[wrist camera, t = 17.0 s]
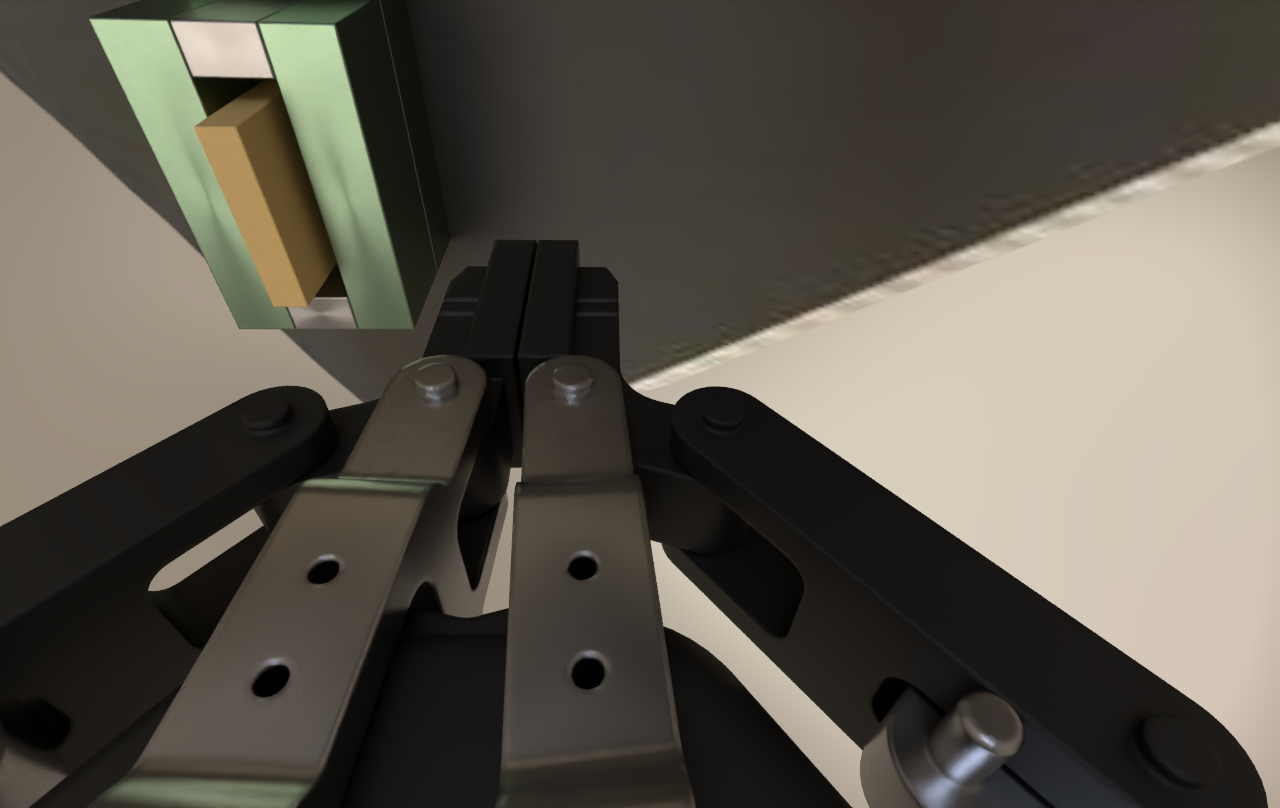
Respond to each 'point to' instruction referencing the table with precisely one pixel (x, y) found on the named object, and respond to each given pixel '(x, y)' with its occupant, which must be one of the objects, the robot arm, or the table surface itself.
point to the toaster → (325, 132)
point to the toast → (269, 193)
